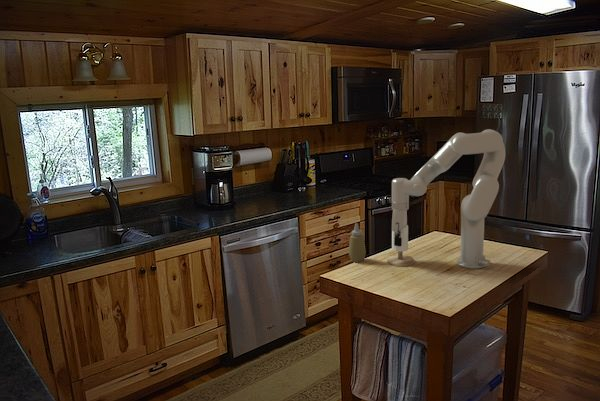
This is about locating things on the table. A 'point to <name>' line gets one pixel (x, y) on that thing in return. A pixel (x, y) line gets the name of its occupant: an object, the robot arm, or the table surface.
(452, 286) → the table surface
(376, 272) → the table surface
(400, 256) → the roll stand
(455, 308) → the table surface
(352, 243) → the squeeze bottle
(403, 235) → the paper roll
